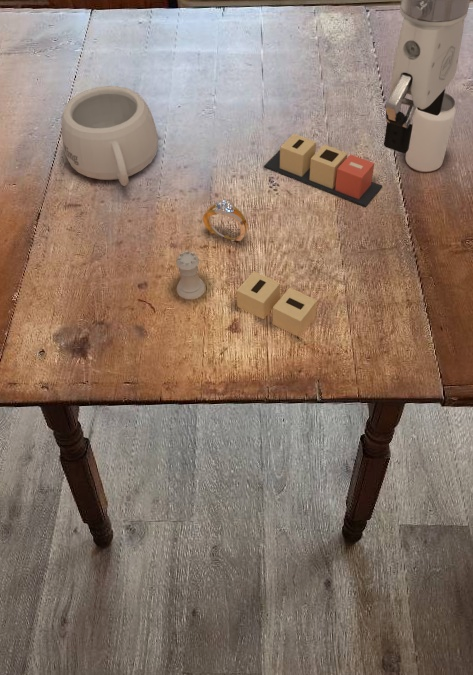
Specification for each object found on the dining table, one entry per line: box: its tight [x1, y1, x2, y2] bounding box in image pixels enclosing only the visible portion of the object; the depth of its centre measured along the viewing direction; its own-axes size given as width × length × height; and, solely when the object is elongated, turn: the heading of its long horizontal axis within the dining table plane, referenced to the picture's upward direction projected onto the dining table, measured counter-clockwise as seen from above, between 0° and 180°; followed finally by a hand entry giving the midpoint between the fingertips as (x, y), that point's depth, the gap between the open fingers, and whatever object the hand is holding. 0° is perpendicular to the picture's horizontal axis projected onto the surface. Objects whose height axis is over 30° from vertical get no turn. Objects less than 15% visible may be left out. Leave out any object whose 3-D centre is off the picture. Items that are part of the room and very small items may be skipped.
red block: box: [335, 154, 375, 199], centre depth 113 cm, size 4×4×5 cm
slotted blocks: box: [236, 270, 318, 338], centre depth 96 cm, size 20×6×5 cm, turn 56°
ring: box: [202, 198, 248, 244], centre depth 105 cm, size 7×3×8 cm, turn 61°
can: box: [404, 92, 456, 173], centre depth 114 cm, size 6×6×12 cm
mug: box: [61, 85, 159, 187], centre depth 118 cm, size 21×17×10 cm
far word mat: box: [263, 133, 383, 208], centre depth 115 cm, size 20×6×5 cm, turn 56°
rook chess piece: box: [175, 249, 206, 300], centre depth 98 cm, size 4×4×8 cm
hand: (412, 130), depth 90 cm, fingers open, 9 cm apart
